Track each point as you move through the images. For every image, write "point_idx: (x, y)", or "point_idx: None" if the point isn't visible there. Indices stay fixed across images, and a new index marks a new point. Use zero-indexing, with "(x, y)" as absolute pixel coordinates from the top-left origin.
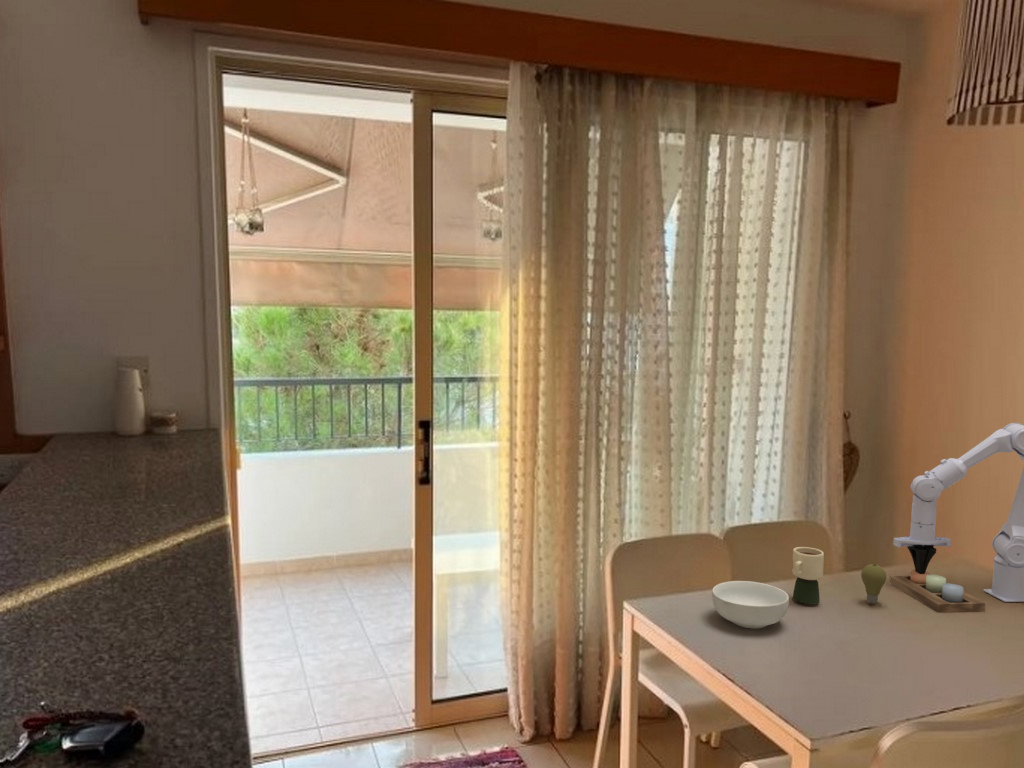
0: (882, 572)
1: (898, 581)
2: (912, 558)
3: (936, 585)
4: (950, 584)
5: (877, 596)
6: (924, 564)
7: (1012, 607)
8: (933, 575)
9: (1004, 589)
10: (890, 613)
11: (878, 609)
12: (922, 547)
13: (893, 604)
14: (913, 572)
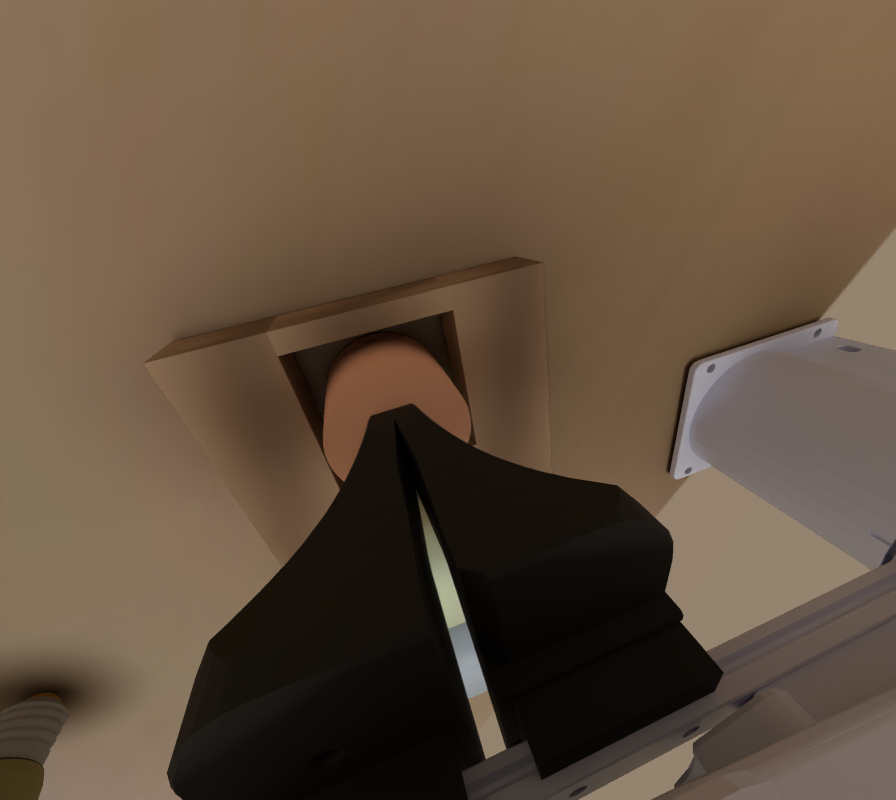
0: None
1: (216, 463)
2: (339, 492)
3: None
4: (476, 655)
5: (43, 762)
6: (436, 533)
7: (656, 508)
8: (447, 568)
9: (728, 475)
10: (151, 733)
11: (89, 727)
12: (497, 710)
13: (173, 656)
14: (341, 450)
